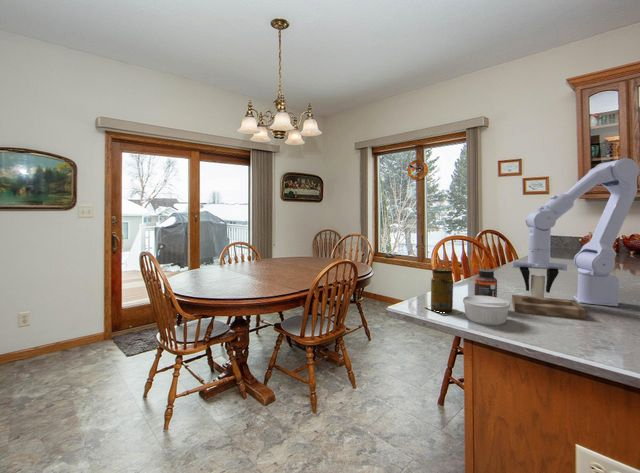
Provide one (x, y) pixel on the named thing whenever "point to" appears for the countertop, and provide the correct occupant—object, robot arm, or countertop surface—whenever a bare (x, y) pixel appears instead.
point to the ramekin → (486, 309)
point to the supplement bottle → (486, 283)
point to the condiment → (442, 292)
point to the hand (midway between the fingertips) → (537, 291)
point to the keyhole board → (548, 306)
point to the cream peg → (537, 285)
